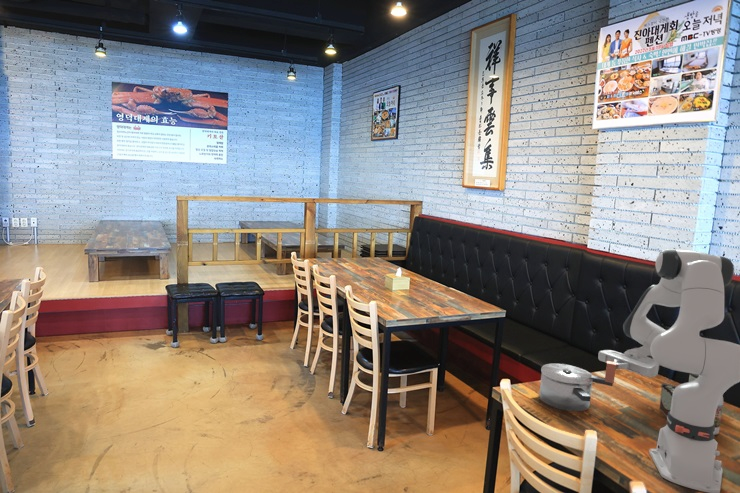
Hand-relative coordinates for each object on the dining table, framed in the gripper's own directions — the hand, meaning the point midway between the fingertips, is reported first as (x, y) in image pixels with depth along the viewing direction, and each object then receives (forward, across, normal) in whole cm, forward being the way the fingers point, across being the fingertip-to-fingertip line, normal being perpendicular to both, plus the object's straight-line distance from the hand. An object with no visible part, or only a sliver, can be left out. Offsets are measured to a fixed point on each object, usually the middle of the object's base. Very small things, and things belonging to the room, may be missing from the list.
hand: (615, 365), depth 180 cm
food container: (-18, +14, +17) cm, 29 cm away
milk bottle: (-17, +25, +17) cm, 35 cm away
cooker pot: (+11, -10, +17) cm, 23 cm away
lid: (+8, -10, +7) cm, 14 cm away
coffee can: (-35, +16, +17) cm, 42 cm away
